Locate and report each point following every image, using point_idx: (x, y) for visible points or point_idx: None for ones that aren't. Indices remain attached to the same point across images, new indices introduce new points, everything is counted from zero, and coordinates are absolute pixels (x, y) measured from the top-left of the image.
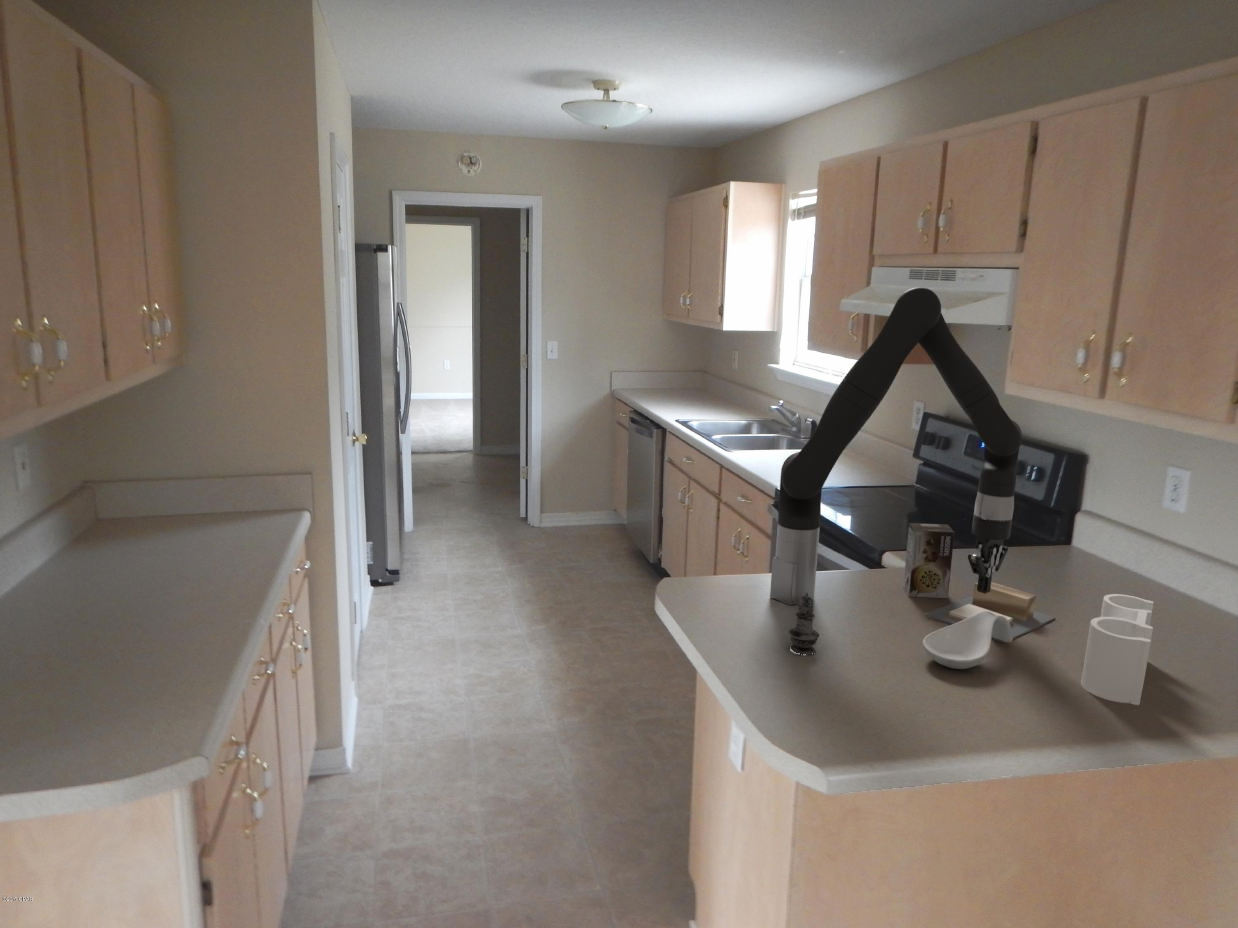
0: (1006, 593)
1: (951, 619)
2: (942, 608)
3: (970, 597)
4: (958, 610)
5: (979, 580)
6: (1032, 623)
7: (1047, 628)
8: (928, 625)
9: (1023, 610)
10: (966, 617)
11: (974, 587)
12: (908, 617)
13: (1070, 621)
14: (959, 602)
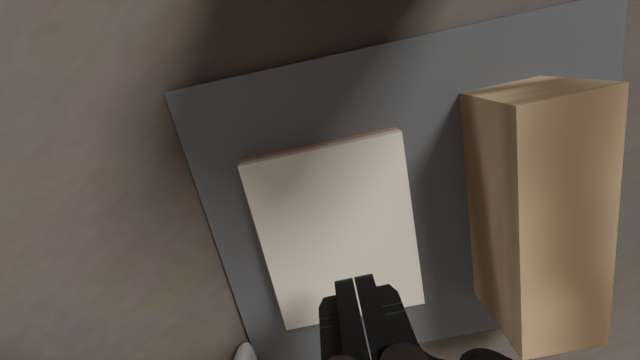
0: (518, 278)
1: (231, 183)
2: (287, 75)
3: (534, 21)
4: (287, 171)
5: (323, 349)
6: (480, 315)
7: (495, 341)
8: (109, 177)
9: (493, 313)
10: (259, 237)
11: (502, 103)
12: (74, 77)
13: (620, 331)
14: (426, 49)
